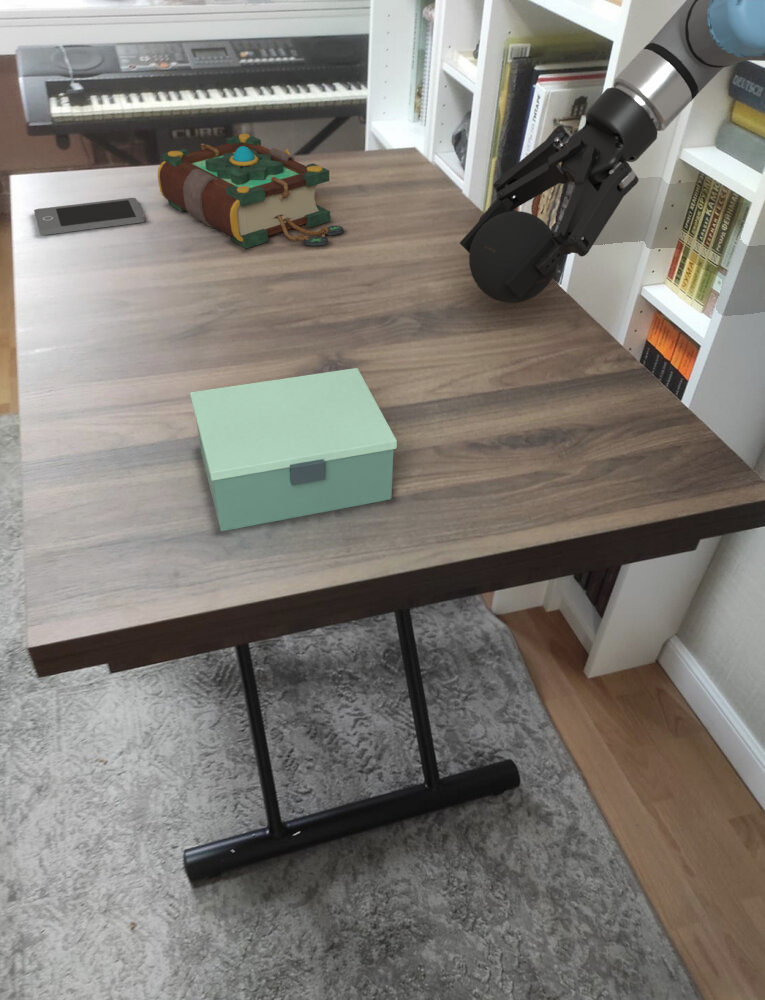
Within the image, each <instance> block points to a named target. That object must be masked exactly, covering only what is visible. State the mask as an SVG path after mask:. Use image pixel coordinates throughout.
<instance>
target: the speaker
mask: <svg viewBox="0 0 765 1000" xmlns="http://www.w3.org/2000/svg"><path fill="white" fill-rule="evenodd" d="M551 232H552V233H553V231H552V229H551V228H550V226H548V224H547V223H546V222H545V221H544V220H542V219H541V218H540V217H538V216H537V215H535V214H532V213H529V212H527V211H520V210H515V211H510V212H505V213H501V214H499V215H497V216H495V217H493V218H491V219H490V220H488V221H487V222H486V223H485V224H484V225H483V226H482V227H481V228H480V229H479V231H478V232H477V234H476V235H475V237H474V239H473V242H472V244H471V248H470V253H469V255H468V263H469V264H468V265H469V270H470V273H471V276H472V278H473V281H474V282H475V284H476V286H477V287H478V288H479V289H480V290H481V291H482V292H483V293H484V294H485V295H486V296H488V297H489V298H491V299H493V300H495V301H498V302H500V303H501V302H502V303H506V304H507V303H508V304H518V303H522V302H526V301H528V300H531V299H533V298H535V297H536V296H539V294H540V293H542V292H543V291H544V290H545V289H546V288H547V287H548V286H549V284H550V283H551V282H552V280H553V278H554V276H555V274H556V271H557V267H558V264H559V262H558V263H557V265H555V267H554V268H552V270H551V271H550V272H549V273H548V274H546V275H545V276H544V275H542V276H541V277H540V279H539V280H538V281H537V282H536V283H535V284H534V285H533V286H532V287H531V288H530V289H529V290H528V291H527V292H526V293H525V295H524V296H523V297H522V298H521V299H520V298H519V297H518V296H517V295H516V294H515V293H514V292H513V291H512V290H511V289H510V288H509V287H508V286H507V285H506V284H505V283H504V282H505V281H506V280H507V279H508V278H509V276H510V275H511V274H512V273H513V272H514V271H515V270H516V269H517V268H518V267H519V266H520V265H521V263H522V262H523V261H524V260H525V259H526V258H527V257H528V256H529V255H530V254H531V253H532V252H533V250H534V249H535V248H536V247H537V246H538V245H539V244H540V243H541V242H542V241H543V240H544V239H545V237H546V236H548V237H550V238H551V239H552V240H553V241H555V240H554V239H553V238H552V237H551V235H550V234H551Z"/></svg>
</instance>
